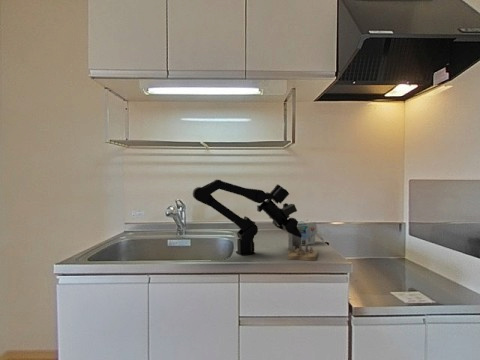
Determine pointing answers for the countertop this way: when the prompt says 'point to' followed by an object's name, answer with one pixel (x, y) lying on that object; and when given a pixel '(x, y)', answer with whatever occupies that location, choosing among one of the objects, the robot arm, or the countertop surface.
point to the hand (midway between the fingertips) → (297, 235)
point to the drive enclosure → (294, 240)
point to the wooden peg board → (302, 253)
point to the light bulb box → (307, 232)
